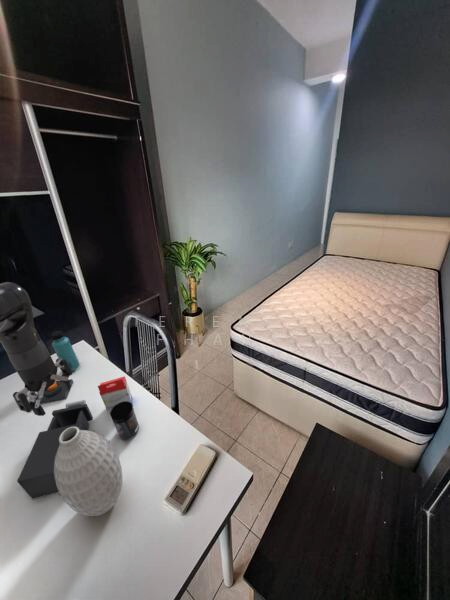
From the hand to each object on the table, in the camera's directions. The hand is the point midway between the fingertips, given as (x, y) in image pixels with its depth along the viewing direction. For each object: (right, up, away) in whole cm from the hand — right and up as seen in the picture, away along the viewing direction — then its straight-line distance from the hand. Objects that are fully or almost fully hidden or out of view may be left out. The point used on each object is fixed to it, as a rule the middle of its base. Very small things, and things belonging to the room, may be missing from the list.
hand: (55, 401), depth 71 cm
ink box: (+10, -11, +21) cm, 25 cm away
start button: (-19, -5, +26) cm, 33 cm away
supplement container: (+17, -15, +12) cm, 25 cm away
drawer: (-2, -15, +12) cm, 19 cm away
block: (-19, -8, +28) cm, 35 cm away
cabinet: (+1, -21, +3) cm, 21 cm away
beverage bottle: (-19, -2, +40) cm, 44 cm away
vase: (+17, -24, -5) cm, 30 cm away
